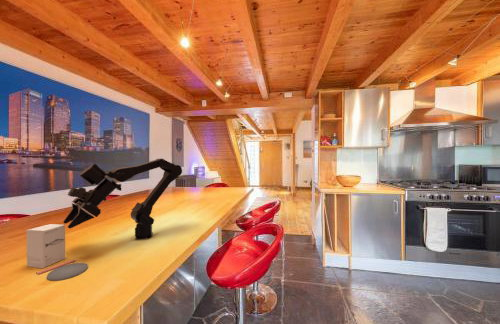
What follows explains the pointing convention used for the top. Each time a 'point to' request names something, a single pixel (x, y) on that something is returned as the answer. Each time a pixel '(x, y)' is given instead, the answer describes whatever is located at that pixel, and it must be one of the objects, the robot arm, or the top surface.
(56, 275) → the disc
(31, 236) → the supplement box
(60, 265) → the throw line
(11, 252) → the top surface
